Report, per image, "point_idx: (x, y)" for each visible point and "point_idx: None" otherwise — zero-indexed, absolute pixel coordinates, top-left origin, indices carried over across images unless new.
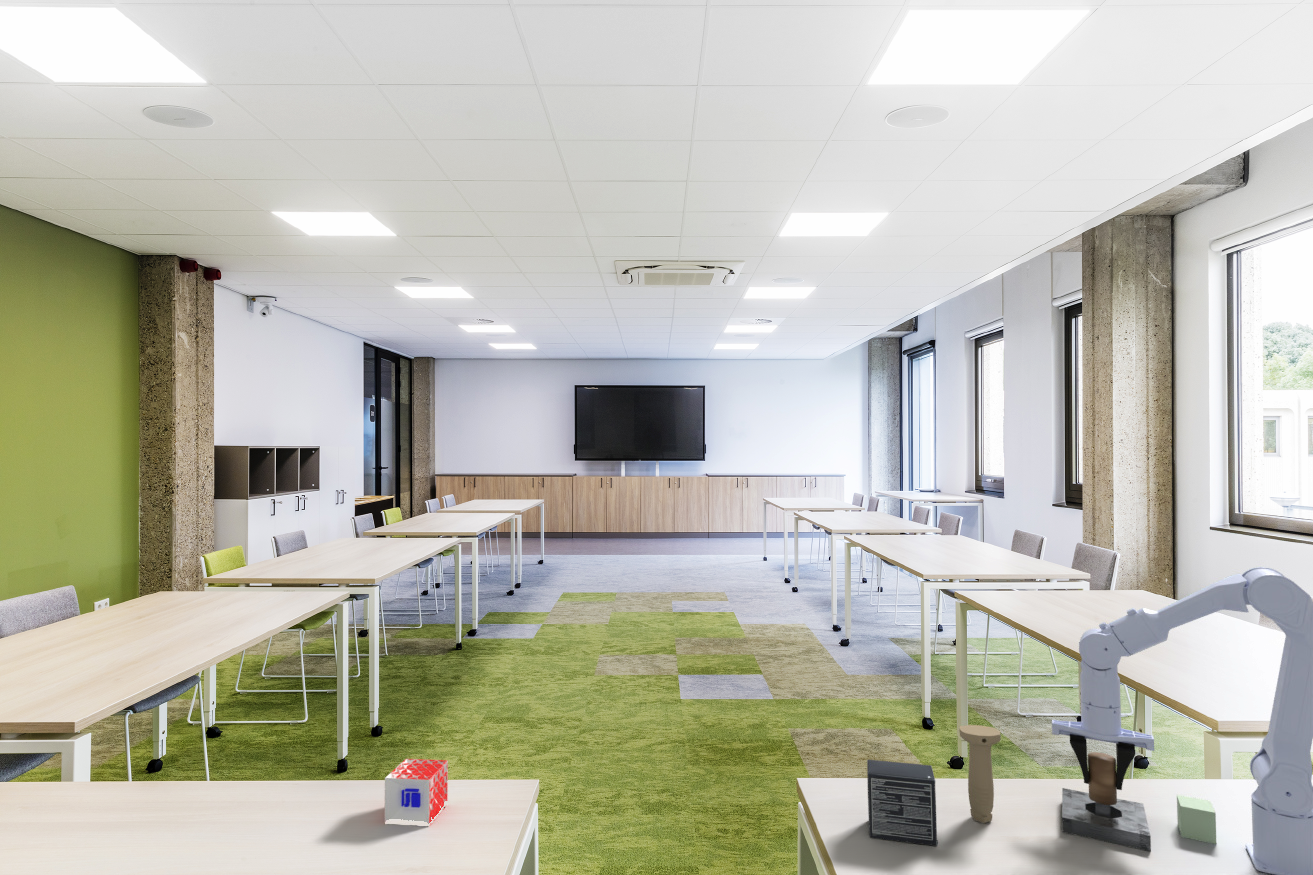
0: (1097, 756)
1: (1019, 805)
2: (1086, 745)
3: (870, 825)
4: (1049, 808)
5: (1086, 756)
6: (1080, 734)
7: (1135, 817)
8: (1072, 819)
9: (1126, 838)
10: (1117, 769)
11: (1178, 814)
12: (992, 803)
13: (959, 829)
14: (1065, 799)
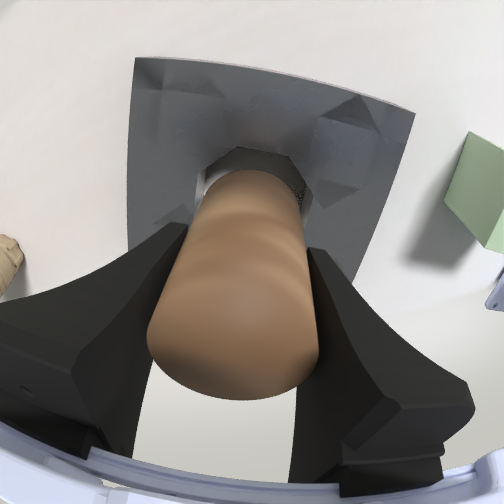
0: (204, 353)
1: (47, 147)
2: (124, 452)
3: None
4: (112, 129)
5: (140, 400)
6: (64, 461)
7: (343, 228)
8: None
9: None
10: None
11: (481, 168)
12: (5, 283)
13: (5, 291)
14: (137, 160)
